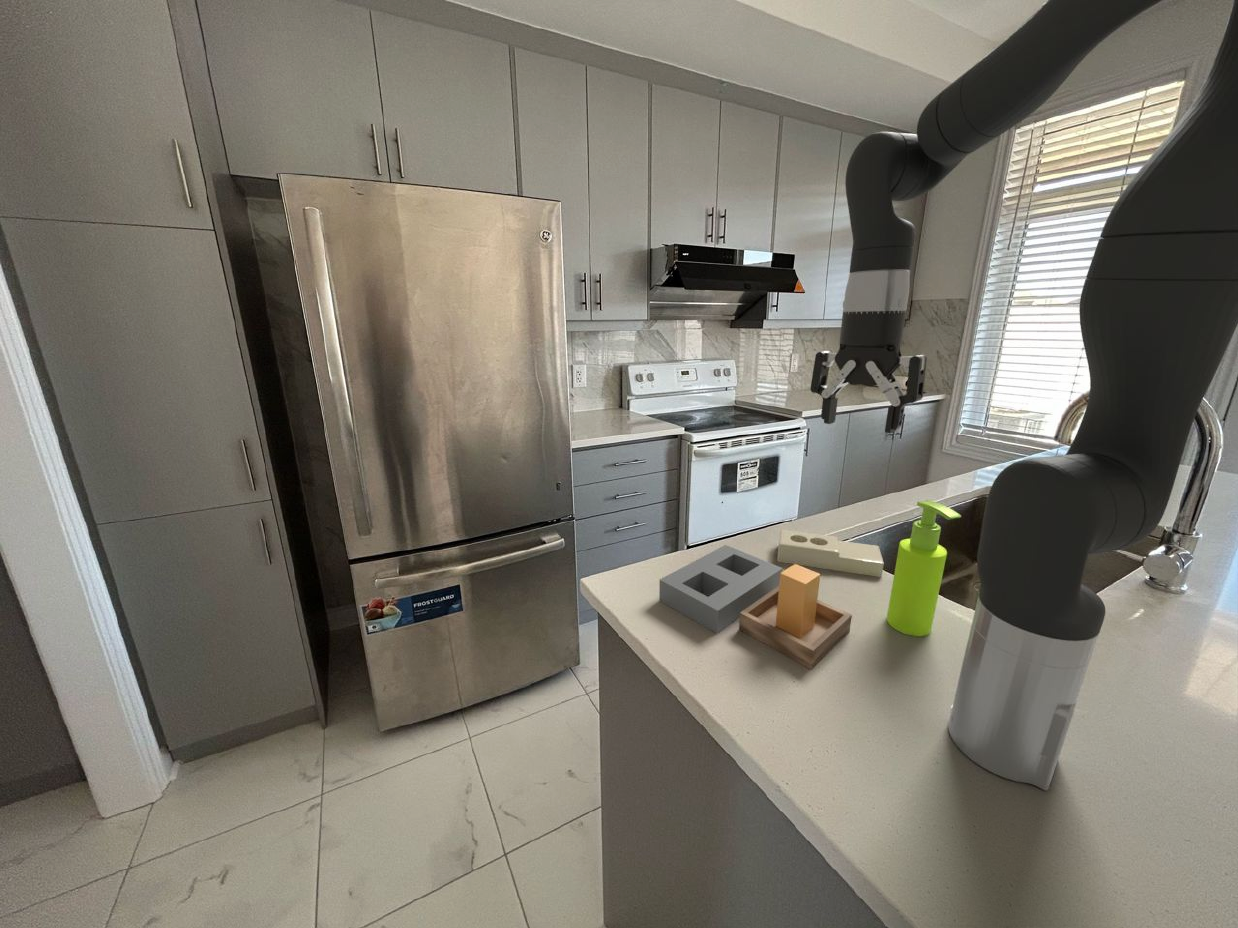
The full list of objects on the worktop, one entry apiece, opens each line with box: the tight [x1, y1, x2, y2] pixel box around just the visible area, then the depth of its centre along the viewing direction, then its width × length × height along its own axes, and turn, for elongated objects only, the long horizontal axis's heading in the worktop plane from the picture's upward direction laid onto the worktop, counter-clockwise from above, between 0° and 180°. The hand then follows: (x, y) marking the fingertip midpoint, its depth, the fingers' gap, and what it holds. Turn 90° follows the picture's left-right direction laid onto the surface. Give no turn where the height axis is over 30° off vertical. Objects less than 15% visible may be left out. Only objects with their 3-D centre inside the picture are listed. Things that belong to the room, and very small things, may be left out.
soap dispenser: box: [886, 500, 962, 637], centre depth 70 cm, size 6×7×20 cm
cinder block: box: [658, 544, 784, 634], centre depth 81 cm, size 12×18×4 cm, turn 131°
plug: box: [776, 564, 821, 638], centre depth 71 cm, size 4×4×9 cm
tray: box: [738, 586, 853, 670], centre depth 72 cm, size 12×12×3 cm
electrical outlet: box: [776, 529, 885, 578], centre depth 92 cm, size 7×4×18 cm
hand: (858, 427), depth 68 cm, fingers open, 8 cm apart
